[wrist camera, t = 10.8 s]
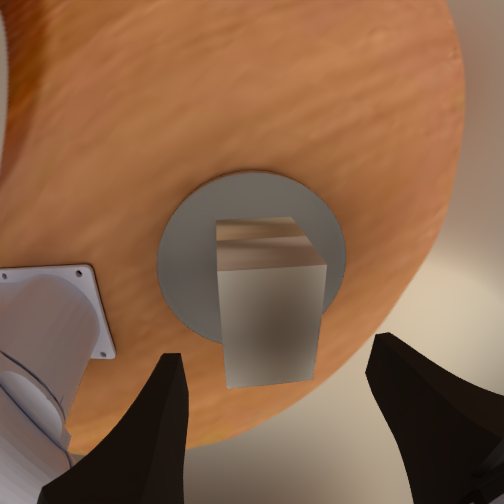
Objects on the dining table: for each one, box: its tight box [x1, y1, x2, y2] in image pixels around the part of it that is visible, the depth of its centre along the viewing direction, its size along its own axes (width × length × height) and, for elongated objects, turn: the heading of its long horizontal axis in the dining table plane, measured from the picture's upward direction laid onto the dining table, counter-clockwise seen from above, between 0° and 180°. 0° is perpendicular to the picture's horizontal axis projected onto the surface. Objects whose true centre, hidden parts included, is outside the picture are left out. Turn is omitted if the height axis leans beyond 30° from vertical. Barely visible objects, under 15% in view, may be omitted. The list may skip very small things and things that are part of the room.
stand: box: [157, 170, 346, 344], centre depth 19 cm, size 11×11×2 cm
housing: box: [216, 217, 327, 388], centre depth 15 cm, size 4×6×6 cm, turn 0°
